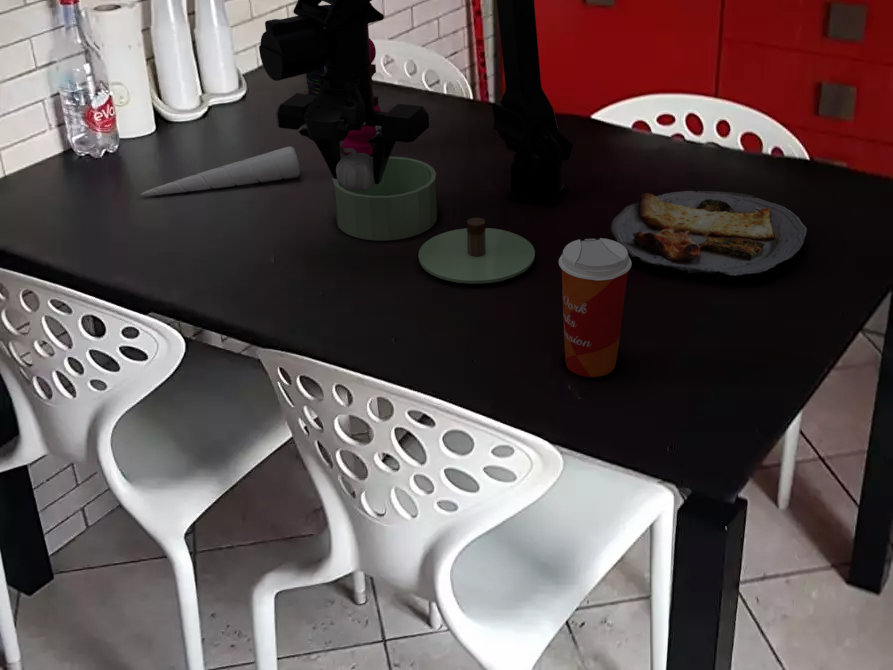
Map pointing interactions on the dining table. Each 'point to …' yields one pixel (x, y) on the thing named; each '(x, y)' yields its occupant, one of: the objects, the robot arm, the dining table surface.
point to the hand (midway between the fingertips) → (357, 180)
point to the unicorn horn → (238, 173)
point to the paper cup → (593, 304)
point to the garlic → (355, 171)
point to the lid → (476, 254)
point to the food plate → (709, 232)
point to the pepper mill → (361, 137)
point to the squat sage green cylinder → (390, 203)
